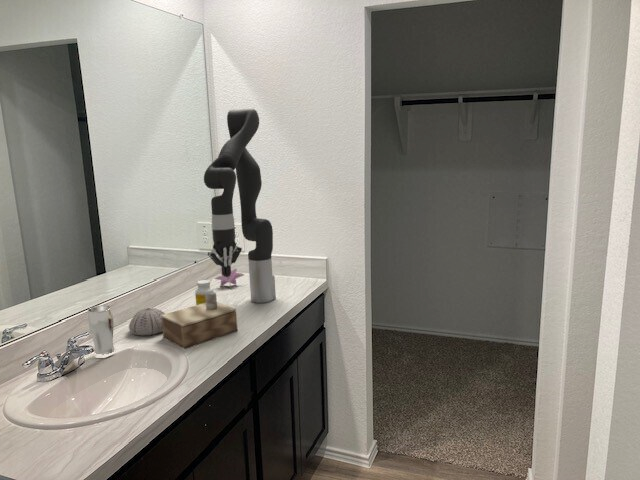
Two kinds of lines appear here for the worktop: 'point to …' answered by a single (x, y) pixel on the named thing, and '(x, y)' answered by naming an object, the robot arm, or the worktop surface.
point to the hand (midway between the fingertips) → (226, 276)
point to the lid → (199, 312)
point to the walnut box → (199, 330)
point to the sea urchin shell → (147, 322)
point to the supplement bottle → (202, 291)
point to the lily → (230, 277)
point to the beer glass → (101, 328)
